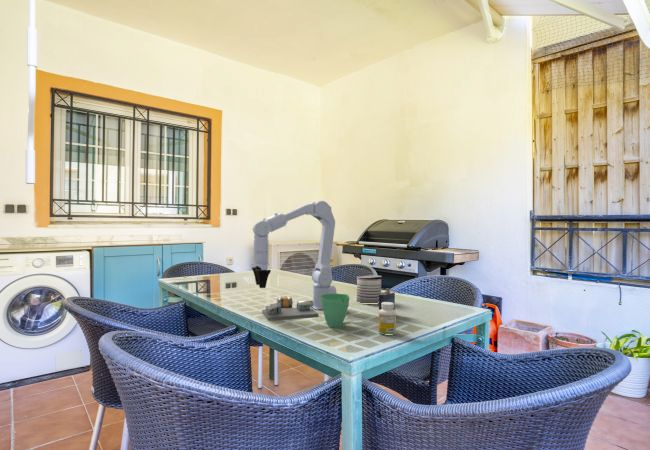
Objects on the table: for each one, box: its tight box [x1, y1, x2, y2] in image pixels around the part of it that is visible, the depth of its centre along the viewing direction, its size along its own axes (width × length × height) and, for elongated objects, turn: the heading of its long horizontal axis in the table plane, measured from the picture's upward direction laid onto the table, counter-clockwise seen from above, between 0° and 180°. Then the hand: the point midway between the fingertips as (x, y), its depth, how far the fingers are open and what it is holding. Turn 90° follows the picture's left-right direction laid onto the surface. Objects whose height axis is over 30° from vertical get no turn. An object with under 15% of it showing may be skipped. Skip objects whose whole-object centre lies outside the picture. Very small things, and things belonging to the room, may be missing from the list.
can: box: [355, 275, 382, 304], centre depth 161 cm, size 11×11×12 cm
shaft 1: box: [265, 302, 281, 315], centre depth 134 cm, size 6×4×3 cm, turn 145°
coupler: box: [276, 296, 294, 308], centre depth 147 cm, size 6×4×4 cm
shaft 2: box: [296, 300, 313, 311], centre depth 141 cm, size 6×4×3 cm, turn 110°
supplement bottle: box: [378, 302, 397, 335], centre depth 115 cm, size 5×5×10 cm
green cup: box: [321, 293, 350, 328], centre depth 125 cm, size 15×10×10 cm
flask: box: [378, 288, 396, 311], centre depth 136 cm, size 9×3×11 cm, turn 138°
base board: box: [261, 306, 320, 321], centre depth 137 cm, size 19×12×1 cm, turn 110°
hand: (260, 286), depth 141 cm, fingers open, 7 cm apart
